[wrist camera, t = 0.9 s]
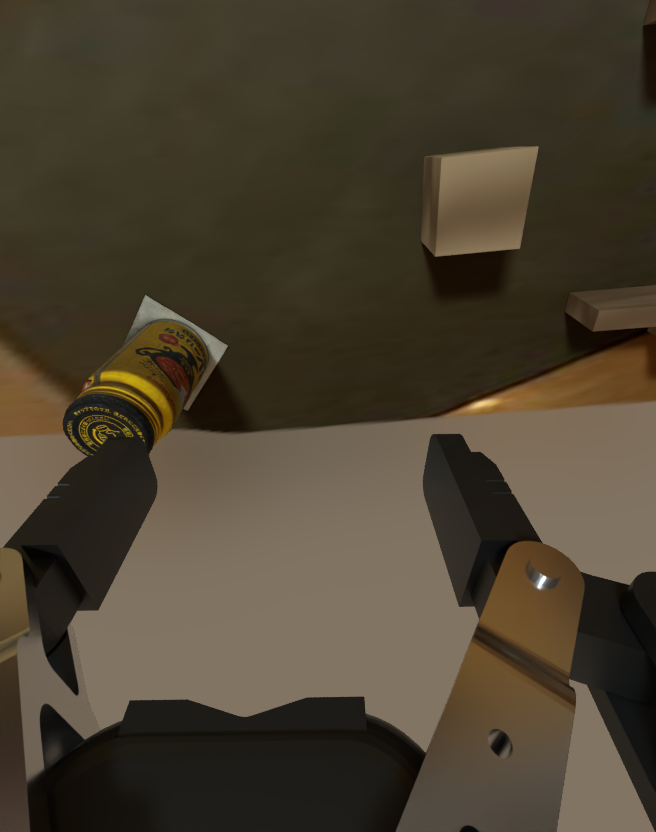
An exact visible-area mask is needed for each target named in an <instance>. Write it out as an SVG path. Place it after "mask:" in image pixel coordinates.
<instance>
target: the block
mask: <svg viewBox="0 0 656 832" xmlns="http://www.w3.org/2000/svg"><path fill="white" fill-rule="evenodd" d="M537 153H538V147H502V148H493V149H485V150H476V151H467V152H459V153H450V154H442V155H433V156H425V157H424V179H423V203H422V227H421V241H422V243H423V244H424V245H425V246H426V247H427V248H428V249H429V250H430V251H431V252H432V254H433V255H434V256H435V257H437V256H447V255H457V254H468V253H478V252H488V251H499V250H509V249H519V248H520V244H521V239H522V233H523V228H524V223H525V217H526V212H527V206H528V201H529V196H530V190H531V185H532V179H533V174H534V169H535V163H536V158H537Z"/></svg>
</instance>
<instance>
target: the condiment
mask: <svg viewBox="0 0 656 832" xmlns="http://www.w3.org/2000/svg"><path fill="white" fill-rule="evenodd" d="M227 347H228V346H227V345H226V344H224V343H222V342H221V341H219V340H218V339H216V338H215V337H213V336H211V335H210V334H208V333H207V332H205V331H204V330H202V329H200V328H199V327H197V326H196V325H194V324H193V323H191V322H189V321H188V320H186V319H184V318H183V317H181V316H179V315H178V314H176V313H174V312H173V311H171V310H169V309H168V308H166V307H163V306H162V305H161V304H159V303H157V302H156V301H154V300H152V299H151V298H149V297H148V296H146V295H145V298H144V300H143V302H142V305H141V307H140V309H139V312H138V314H137V316H136V318H135V321H134V323H133V325H132V327H131V330H130V332H129V334H128V336H127V338H126V340H125V342H124V345H123V347H122V348H121V349H120V350H119V351H117V352H116V353H115V354H114V355H113V356H112V357H111V358H110V359H109V360H108V361H107V362H106V363H105V364H103V365H102V366H101V367H100V368H99V369H98V370H97V371H96V372H95V373H93V374H92V376H90V377H89V378H88V380H87V382H86V383H85V384H84V386H83V389H82V393H81V394H80V395H79V396H78V398H77V400H75V401H74V402H73V403H72V404H71V405H70V406H69V407H68V409H67V410H66V412H65V416H64V419H63V430H64V432H65V435H66V436H67V437H68V439H69V440H70V441H71V442H72V444H73V445H74V446H75V447H76V448H77V449H78V450H79V451H81V452H82V453H83V454H85V455H87V456H93V455H94V454H95V453H96V451H97V450H98V449H99V448H100V446H101V445H102V444H103V443H104V441H105V440H106V439H107V438H109V437H140V438H142V440H143V441H144V443H145V446H146V449H147V452H148V455H149V453H150V451H151V450H152V447H153V446H154V445H155V444H156V443H157V441H158V440H159V439H161V438H162V437H164V436H165V435H166V434H168V432H170V431H171V428H172V427H173V425H174V423H175V421H176V420H177V418H178V416H179V415H180V413H181V411H182V410H183V409H185V410H187V411H188V409H189V408H190V406H191V405H192V403H193V401H194V400H195V398H196V397H197V395H198V393H199V392H200V390H201V389H202V387H203V385H204V384H205V382H206V381H207V379H208V377H209V376H210V374H211V373H212V371H213V369H214V368H215V366H216V365H217V363H218V361H219V360H220V358H221V357H222V355H223V353H224V352H225V350H226V349H227Z"/></svg>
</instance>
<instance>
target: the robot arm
mask: <svg viewBox="0 0 656 832" xmlns="http://www.w3.org/2000/svg"><path fill="white" fill-rule="evenodd" d="M423 491H424V496H425V500H426V503H427V506H428V509H429V513H430V516H431V519H432V522H433V525H434V528H435V532H436V535H437V538H438V541H439V544H440V548H441V551H442V554H443V557H444V560H445V563H446V566H447V570H448V573H449V576H450V579H451V582H452V586H453V589H454V592H455V595H456V598H457V601H458V604H459V607H464V606H465V607H466V606H475V608H476V611H477V614H478V617H479V622H478V624H477V627H476V629H475V632H474V634H473V637H472V639H471V642H470V644H469V647H468V650H467V652H466V654H465V657H464V659H463V662H462V664H461V667H460V669H459V672H458V675H457V677H456V680H455V682H454V684H453V687H452V689H451V692H450V694H449V697H448V699H447V702H446V704H445V707H444V709H443V712H442V714H441V717H440V720H439V722H438V724H437V727H436V729H435V732H434V734H433V737H432V739H431V742H430V744H429V747H428V749H427V752H426V753H425V752H424V751H423V750H422V749H421V748H420V746H419V745H418V744H416V743H415V742H414V741H413V740H412V739H410V738H409V737H408V736H407V735H406V734H405V733H403V732H402V731H400V730H399V729H397V728H396V727H394V726H393V725H391V724H390V723H387V722H385V721H383V720H381V719H379V718H377V717H374V716H371V715H368V714H365V701H364V697H319V698H318V697H317V698H316V697H314V698H304V699H301V700H298V701H295V702H292V703H289V704H286V705H283V706H280V707H277V708H274V709H271V710H268V711H265V712H262V713H259V714H256V715H253V716H249V717H240V716H236V715H233V714H230V713H227V712H224V711H221V710H218V709H215V708H212V707H208V706H206V705H202V704H200V703H196V702H193V701H190V700H138V701H137V700H135V701H130V702H129V705H128V707H127V710H126V712H125V715H124V718H123V721H120V722H117V723H115V724H113V725H111V726H109V727H107V728H104V729H102V730H100V728H99V725H98V723H97V720H96V718H95V716H94V714H93V712H92V710H91V707H90V704H89V701H88V697H87V693H86V687H85V683H84V677H83V672H82V668H81V663H80V658H79V653H78V648H77V643H76V638H75V633H74V629H73V627H72V625H71V624H70V622H71V620H72V619H73V617H74V615H75V613H76V611H82V610H83V611H84V610H99V607H100V606H101V604H102V602H103V600H104V598H105V596H106V594H107V592H108V590H109V588H110V586H111V584H112V582H113V580H114V578H115V576H116V574H117V573H118V571H119V569H120V567H121V565H122V563H123V561H124V559H125V557H126V555H127V553H128V551H129V549H130V547H131V545H132V543H133V541H134V539H135V537H136V535H137V534H138V531H139V529H140V528H141V526H142V523H143V522H144V520H145V518H146V516H147V514H148V512H149V510H150V508H151V506H152V504H153V502H154V500H155V498H156V494H157V479H156V475H155V472H154V469H153V467H152V464H151V461H150V458H149V455H148V452H147V449H146V446H145V443H144V441H143V440H142V438H140V437H109V438H107V439H106V440H105V441H104V443H103V444H102V445H101V446H100V448H99V449H98V450H97V451H96V453H95V454H94V455H93V456H88V457H86V458H85V459H83V460H82V461H81V462H79V463H78V464H76V465H75V466H73V467H72V468H70V470H69V471H68V472H67V473H66V474H65V475H64V476H63V478H62V479H61V480H60V481H59V482H58V486H55V487H54V488H53V489H52V491H51V492H50V493H49V494H48V496H47V499H44V500H43V501H42V502H41V503H40V505H39V506H38V507H37V508H36V509H35V510H34V512H33V513H32V514H31V515H30V516H29V518H28V519H27V520H26V521H25V522H24V523H23V525H22V526H21V527H20V528H19V529H18V530H17V532H16V533H15V534H14V535H13V536H12V537H11V539H10V540H9V541H8V542H7V543H6V544H5V546H4V547H3V548H0V832H557V825H558V819H559V812H560V806H561V799H562V793H563V786H564V780H565V773H566V767H567V760H568V754H569V747H570V741H571V734H572V728H573V721H574V714H575V707H576V694H575V690H574V689H573V688H572V687H570V686H569V679H571V680H574V681H577V682H580V683H583V684H586V685H587V686H588V688H589V690H590V692H591V694H592V697H593V699H594V701H595V703H596V705H597V707H598V710H599V712H600V714H601V716H602V718H603V720H604V723H605V725H606V727H607V729H608V731H609V733H610V735H611V738H612V740H613V742H614V744H615V746H616V748H617V750H618V753H619V755H620V757H621V759H622V761H623V764H624V765H625V768H626V770H627V772H628V774H629V776H630V779H631V781H632V783H633V785H634V787H635V789H636V791H637V793H638V796H639V798H640V800H641V802H642V804H643V806H644V809H645V811H646V813H647V815H648V817H649V820H650V822H651V824H652V826H653V828H654V830H655V832H656V572H645V573H641V574H640V575H638V576H637V577H636V578H635V579H634V580H633V582H632V583H631V585H627V584H623V583H619V582H615V581H612V580H608V579H604V578H600V577H596V576H592V575H589V574H586V573H582V572H580V571H579V569H578V568H577V567H576V565H575V564H574V563H573V562H572V561H571V560H570V559H569V558H568V557H567V556H565V555H564V554H563V553H561V552H560V551H558V550H557V549H555V548H553V547H551V546H549V545H546V544H543V543H542V541H541V540H540V538H539V536H538V535H537V533H536V531H535V530H534V528H533V526H532V525H531V523H530V521H529V520H528V518H527V516H526V515H525V513H524V511H523V510H522V508H521V506H520V504H519V503H518V501H517V499H516V498H515V496H514V495H513V494H512V493H511V492H512V491H511V489H510V488H509V486H508V484H507V483H506V482H504V478H503V476H502V474H501V473H500V471H499V469H498V467H497V466H496V464H494V463H493V462H492V461H491V460H490V459H488V458H487V457H486V456H485V455H484V454H482V453H481V452H471V451H470V449H469V447H468V446H467V444H466V442H465V440H464V438H463V436H462V435H461V434H433V435H432V436H431V438H430V442H429V447H428V453H427V458H426V465H425V469H424V475H423Z"/></svg>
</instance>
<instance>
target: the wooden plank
mask: <svg viewBox="0 0 656 832" xmlns="http://www.w3.org/2000/svg"><path fill="white" fill-rule="evenodd" d="M651 24H656V0H650V3H649V7H648V11H647V14H646V18H645V22H644V25H651ZM644 25H643V26H644ZM565 312H566V313H567V314H569V315H570V316H572V317H573V318H574V319H576V320H577V321H579V322H580V323H581V324H583V325H584V326H586V327H587V328H588V329H590V330H591V331H606V330H619V329H631V328H644V327H649V328H648V330H647V331H648V332H650V333H651V334H653V335H655V336H656V285H651V286H640V287H628V288H617V289H605V290H594V291H582V292H571V293H570V294H569V298H568V301H567V305H566V309H565Z"/></svg>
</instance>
